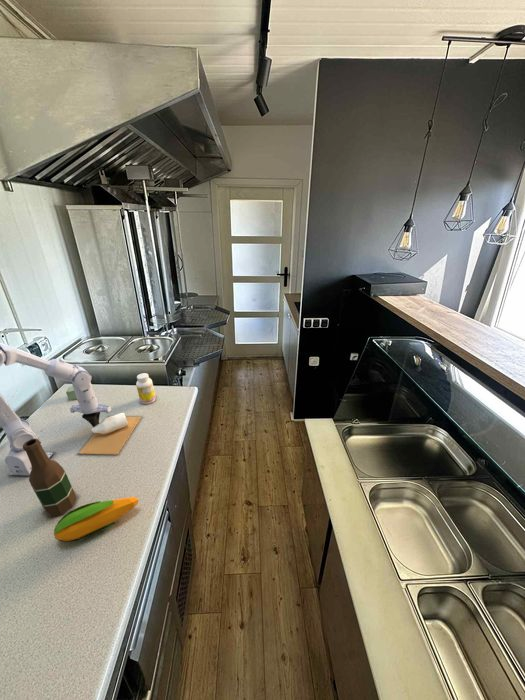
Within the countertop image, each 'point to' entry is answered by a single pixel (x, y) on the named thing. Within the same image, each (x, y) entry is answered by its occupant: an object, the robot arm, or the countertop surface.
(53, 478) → the beer bottle
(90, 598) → the countertop surface
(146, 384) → the supplement bottle
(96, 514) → the corn
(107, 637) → the countertop surface
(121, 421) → the white radish
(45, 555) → the countertop surface
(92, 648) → the countertop surface
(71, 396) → the block
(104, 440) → the mat
